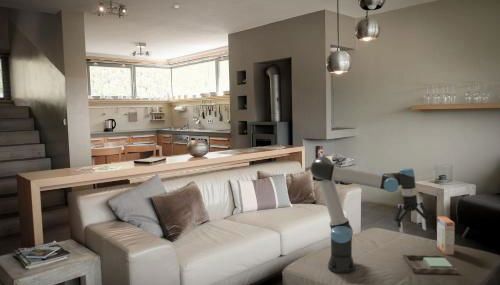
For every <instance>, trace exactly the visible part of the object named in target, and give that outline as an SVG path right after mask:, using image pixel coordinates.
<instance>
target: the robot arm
mask: <svg viewBox="0 0 500 285" xmlns="http://www.w3.org/2000/svg"><path fill="white" fill-rule="evenodd" d="M310 173H311V175H312V176H313V177H314V179H315V181H316V182H317V183H318V184H319V186H320V189H321V192H322V195H323V198H324V203H325V205H326V208H327V209H326V210H327V212H328V215H329V218H330V222H329V227H330V230H331V231H330V256H329V261H328V264H327V266H328V267H327V269H328V270H329V271H331V272H332V273H336V274H340V275H345V274H346V275H347V274H348V275H349V274H352V273H354V272H355V270H356V263H355V261H354V258H353V254H352V253H353V247H352V246H353V243H352V242H353V233H354V232H353V231H354V230H353V227H352V225H351V224H350V221H349V220H350V219H349V218H348V217H347V216H345V213H344V210H343V207H342V203H341V201H340V196H339V193H338V190H337V187H336V183H335V181H339V182H344V183H349V184H355V185H360V186H364V187H370V188H375V189H379V190H383V191H386V192H388V193H395V192H396V191H397V190H398V189H399V186H400V187H401V194H402V196H401V197H402V203H403V204H397V210H396V213H395V215H394V218H393V221H395V222H396V224H397V227H398V228H399V233H401V234H404V229H403V228H404V227H403V222H402V220H403V219H404V217H405V215H406V214H407V213H408V212H415V211H416V212H417V214H419V215H420V216H421V225H422V226H421V227H422V230H423V231H426V230H427V224H428V221H427V219H428V218H429V217H431V216H430V214H429V212H428V211H427V208H425V206H424V203H423V202H422V201H418V198H417V197H418V196H417V189H416V179H415V178H416V177H415V171H414V169H413V168H412V167H403V168H400V169H399V172H389V173H388V172H387V173H379V174H377V173H372V172H366V171H362V170H355V169H351V168H350V169H349V168H345V167H339V166H337V165H336V164H335V163H333V162H332V160H331V159H330V158H328V157H327V156H319V157H316V158H315V160H313V162H312V163H311V166H310ZM418 206H419V208H420V209H421V210H422V211H421V210H420V209H419V208H418Z"/></svg>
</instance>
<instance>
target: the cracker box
mask: <svg viewBox="0 0 500 285" xmlns="http://www.w3.org/2000/svg"><path fill="white" fill-rule="evenodd" d="M436 220H437V225H436V226H437V231H436V249H438V250H439V251H440V252H441V253H442V254H443V255H448V256H449V255H450V256H452V255H454V254H455V227H456V224H455V223H456V222H454V221H453V220H451V219H450V218H449V217H448V216H446V215H445V216H441V215H440V216H438V215H437V218H436Z"/></svg>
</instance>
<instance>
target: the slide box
mask: <svg viewBox="0 0 500 285" xmlns="http://www.w3.org/2000/svg"><path fill="white" fill-rule="evenodd" d="M423 257H424V258H445V254H443V255H442V254H441V255H439V254H438V255H437V254H402V259H403V260H404V262H405V263H406V265H407V267H408V268H409V269H410V270H411V271H412V273H413V274H446V275H448V274H455V275H457V274H458V273H459V272H458V268H455V267H454V268H428V267H427V266H426V265H425V263H424V262H423Z"/></svg>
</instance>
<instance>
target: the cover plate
mask: <svg viewBox="0 0 500 285" xmlns="http://www.w3.org/2000/svg"><path fill="white" fill-rule="evenodd" d="M423 262H424V263H425V265H426V266H427V267H428V268H453V265H452V264H451V262H450V261H448V260H447V259H446V258H445V257H444V258H424V257H423Z"/></svg>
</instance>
